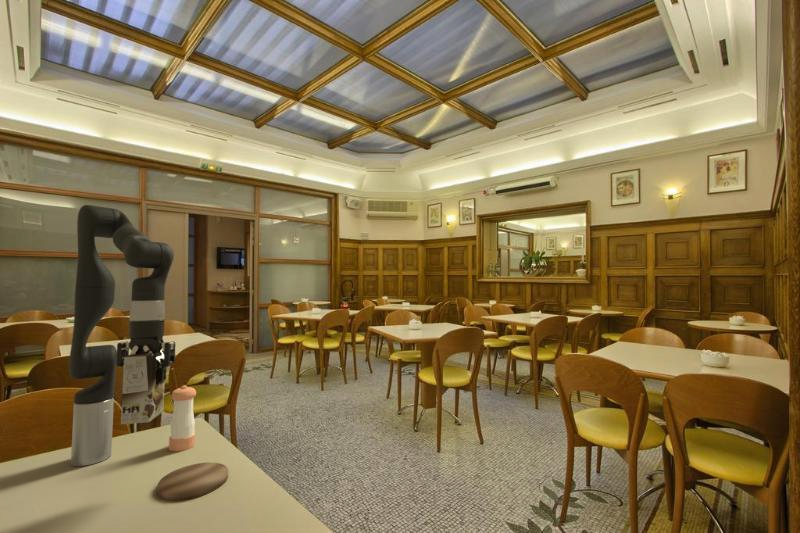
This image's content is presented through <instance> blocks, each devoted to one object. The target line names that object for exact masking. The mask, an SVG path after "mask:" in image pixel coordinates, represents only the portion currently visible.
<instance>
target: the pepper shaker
mask: <svg viewBox="0 0 800 533" xmlns="http://www.w3.org/2000/svg"><path fill="white" fill-rule="evenodd" d="M196 396H197V390H196V389H195V388H194V387H190V386H187V385H185V384H183V385H182V386H181V387H178V388H176V389H174V390H173V391H172V393H171V396H170V397H171V399H172V401H173V412H172V413H173V415H172V417H171V418H172V419H171V424H170V436H169V438H168V450H169V451H170V452H183V451H187V450H189V449H192V448H193V447H195V445H196V432H195V426H196V423H195V415H194V398H195V397H196Z"/></svg>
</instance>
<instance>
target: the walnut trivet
mask: <svg viewBox="0 0 800 533" xmlns="http://www.w3.org/2000/svg"><path fill="white" fill-rule="evenodd" d="M228 479H229V468H228V467H227V466H226V465H225V464H223V463H219V462H200V463H193V464H190V465H185V466H183V467H180V468H178V469H175V470H173V471H171V472H169V473H167V474H166V475H164V476H163V477H162V478H161V479H159V481H158V483H157V487H156V490H157V491H156V492H157V493H156V494H157V495H158V497H159V498H161V499H164V500H165V501H185V500H192V499H196V498H199V497H202V496H205V495H209V493H210V494H211V493H212V492H214V491H216V490H218V489H219V488H220V487H223V486H224V485H225V483H227V480H228Z"/></svg>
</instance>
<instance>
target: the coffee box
mask: <svg viewBox="0 0 800 533" xmlns="http://www.w3.org/2000/svg"><path fill="white" fill-rule="evenodd" d="M161 351H162V352H163V354H164V350H163V349H162V350H161ZM158 356H160V352H159V353H155V354H135V355H129V356H126V357H124V368H123V371H122V373H123V375H122V390H121V391H122V394H121V396H122V397H121V411H120V412H121V413H120V414H121V416H120V425H131V424H142V423H150V422H151V421H153V420H154V419H155V418H157V417H158V416H159V415H161V413H163V412H164V409H165V407H164V406H165V381H166V380H165V381H164V383H161V384H156V369H158V368H157V367H156V359H155V358H156V357H158Z"/></svg>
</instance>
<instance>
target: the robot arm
mask: <svg viewBox="0 0 800 533" xmlns="http://www.w3.org/2000/svg"><path fill="white" fill-rule="evenodd" d="M76 226H77V227H76V230H77V236H76V237H77V265H76V266H77V267H76V278H75V286H74V288H75V289H74V290H75V291H74V316H73V318H74V319H73V330H72V338H71V345H70V353H69V361H68V372H69V377H70V378H72V379H73V380H84V379H91V378H98V377H99V379H98V380H97V381H96V382H94V383H93V384H91V385H89V386H87V387H85V388H82V389H80V390H79V391H77V392H75V393H74V397H73V414H72V415H73V418H72V433H71V434H72V436H71V438H72V439H71V453H70V465H71V466H72V467H73V466H74V467H83V466H89V465H94V464H97V463H101V462H103V461H106V460H107V459H109V458H110V457H111V456H112V446H113V443H112V442H113V427H114V426H113V424H114V423H113V422H114V405H115V404H114V400H115V397H114V396H115V383H116V382H115V381H116V374H117V373H116V370H117V367H119V368H120V367H121V368H123V369H124V357H126V356H129V355H135V354H155V353H159V352H160V356H158V357H156V358H155V359H156V367H157V368H158V369H156V384H161V383H164V381H166V380H167V368H168V367H170V366H173V365H175V363H176V342H175V340H174V341H165V340H164V335H165V327H166V326H165V325H166V324H165V321H166V320H165V319H166V307H165V305H166V304H165V292H166V291H165V287H166V283H167V279H168V276H169V273H170V270H171V266H172V264H173V262H174V258H175V257H174V255H175V254H174V250H173V248H172V246H171V245H170V244H168V243H166V242H161V241H160V242H159V241H151V238H149V237H148V236H147V235H146V234H144V233H143V232H141V231H140V230H138V229H137V228H136V227H135V226H134V224H133V223H132V221H130V219H129V218H128V217H127V215H126V214H125V213H124V212H123V211H121V210H120V209H117V208H114V207H104V206H97V205H93V204H92V205H91V204H84V205H81V207H80V208H79V210H78V213H77V221H76ZM95 238H106V239H107V238H108V239H112V242H113V244H114V246H115V247H116V249H118V251H120V252H122V254H123V256H124V261H125V263H126V264H127V265H129V267H132V268H136V269H153V270H152V272H151V274H150V275H149V276H144V277H137V278H134V279H133V281H132V282H131V300H130V303H131V304H130V307H129V318H128V319H129V321H128V322H129V323H128V325H129V327H128V338H130V341H123V342H118V343H117V344H116V346H115V345H114V344H103V345H91V346H90V345H89V346H87V343H88V340H89V338H90V335H91V333H92V332H93V331H94V329H95V327H96V326H97V325H98V323H99V322H100V321H101V320H102V319H103V317H104V316H105V315H106V314H107V313H108V312H109V310H110V309H111V308H112V306H113V305H114V302H115V294H116V293H115V291H116V280H115V278H114V276H113V273H112V272H111V271H110V270H109V268H108V266H107V265H106V264H105V263H104V261H103V260H102V259H101V257H100V254H99V253H98V251H97V246H96V241H95ZM163 350H164V354H163V352H162V351H163ZM164 384H165V383H164ZM110 455H111V456H110ZM109 456H110V457H109ZM108 457H109V458H108Z"/></svg>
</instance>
